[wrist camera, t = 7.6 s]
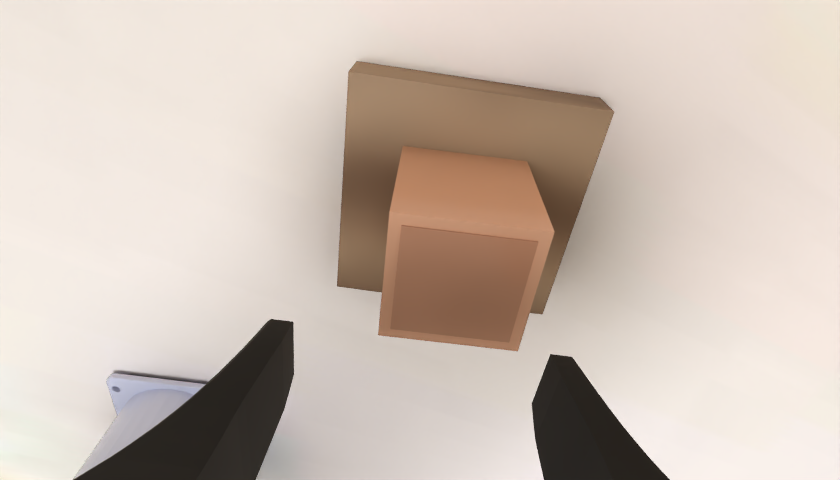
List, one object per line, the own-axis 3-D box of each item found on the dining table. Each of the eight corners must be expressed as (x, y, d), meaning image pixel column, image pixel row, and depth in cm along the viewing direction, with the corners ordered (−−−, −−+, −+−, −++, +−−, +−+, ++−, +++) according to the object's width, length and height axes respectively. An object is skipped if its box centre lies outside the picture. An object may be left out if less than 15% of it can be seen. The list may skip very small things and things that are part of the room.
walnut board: (534, 283, 25) (542, 314, 23) (346, 257, 25) (337, 286, 23) (596, 93, 20) (614, 111, 18) (359, 58, 20) (348, 71, 17)
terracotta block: (501, 263, 22) (518, 352, 17) (392, 250, 21) (378, 336, 17) (527, 161, 19) (555, 232, 14) (402, 145, 19) (389, 212, 14)
